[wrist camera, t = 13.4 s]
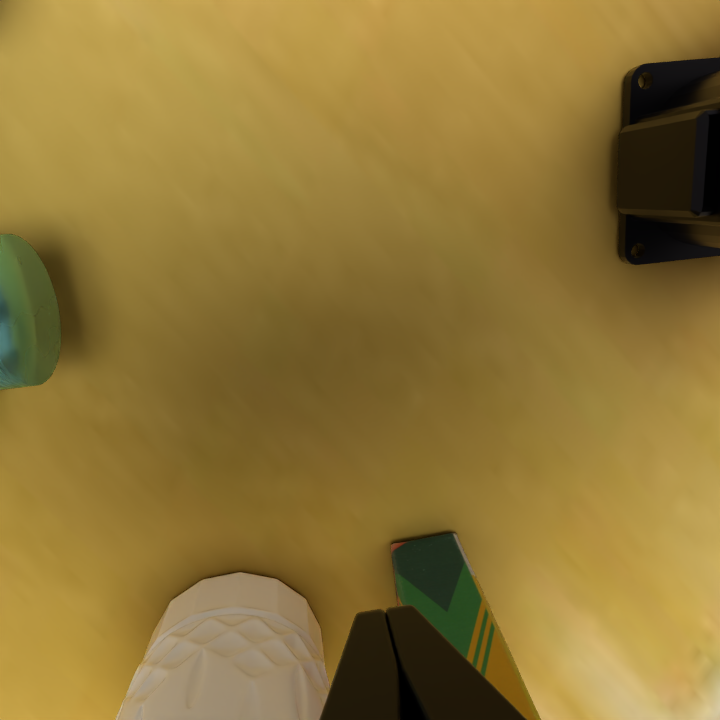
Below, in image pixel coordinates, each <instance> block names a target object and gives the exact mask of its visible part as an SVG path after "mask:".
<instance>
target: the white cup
mask: <svg viewBox="0 0 720 720" xmlns="http://www.w3.org/2000/svg"><path fill="white" fill-rule="evenodd" d="M329 690H330V685H329V681H328V677H327V673H326V669H325V662H324V653H323V644H322V635H321V628H320V626H319V624H318V622H317V620H316V618H315V616H314V614H313V612H312V610H311V608H310V606H309V604H308V602H307V600H306V599H305V598H304V597H302V596H301V595H300V594H298V593H297V592H295V591H294V590H292V589H291V588H289V587H288V586H286V585H285V584H284V583H282V582H281V581H279V580H278V579H274V578H269V577H264V576H258V575H253V574H248V573H242V572H238V573H233V574H228V575H223V576H218V577H213V578H208V579H203V580H201V581H199V582H198V583H196V584H195V585H193V586H192V587H191V588H189V589H188V590H186V591H185V592H183V593H182V594H180V595H179V596H177V597H176V598H174V599H173V600H171V602H170V603H169V605H168V607H167V609H166V610H165V612H164V614H163V616H162V617H161V619H160V621H159V623H158V624H157V626H156V628H155V630H154V632H153V634H152V637H151V639H150V642H149V645H148V647H147V650H146V653H145V655H144V658H143V661H142V662H141V664H140V665H139V666H138V668H137V670H136V672H135V674H134V676H133V679H132V681H131V684H130V686H129V689H128V691H127V694H126V696H125V699H124V700H123V703H122V705H121V707H120V710H119V712H118V714H117V716H116V719H115V720H319V719H320V716H321V713H322V710H323V707H324V704H325V702H326V699H327V696H328V693H329Z"/></svg>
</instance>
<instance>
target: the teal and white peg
mask: <svg viewBox="0 0 720 720" xmlns="http://www.w3.org/2000/svg"><path fill="white" fill-rule="evenodd" d="M60 345H61V323H60V314H59V308H58V303H57V298H56V295H55V291H54V288H53V285H52V282H51V279H50V277H49V274H48V272H47V270H46V268H45V266H44V264H43V262H42V261H41V259H40V257H39V256H38V254H37V253H36V252H35V250H34V249H33V248H32V247H31V246H30V245H29V244H28V243H27V242H26V241H25V240H23V239H22V238H20V237H18V236H16V235H13V234H3V235H0V390H3V389H11V388H19V387H28V386H36V385H40V384H43V383H44V382H46V381H47V380H48V379H49V378H50V377H51V375H52V374H53V372H54V370H55V368H56V365H57V362H58V358H59V353H60Z"/></svg>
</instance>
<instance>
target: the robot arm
mask: <svg viewBox="0 0 720 720" xmlns="http://www.w3.org/2000/svg"><path fill="white" fill-rule="evenodd" d="M640 75H643V76H644V77H645V80H646V84H645V87H644V88H643V89H642V88H641V87H640V86H639V84H638V79H639V76H640ZM617 208H618V209H619V211H620V223H619V257H620V258H621V260H622V261H624V262H625V263H628V264H634V265H641V264H650V263H658V262H667V261H676V260H685V259H694V258H702V257H711V256H720V57H719V58H707V59H695V60H683V61H671V62H659V63H648V64H643V65H640V66H638V67H635V68H633V69H632V70H631V71H629V72H628V74H627V76H626V78H625V82H624V103H623V130H622V131H621V132H620V134H619V144H618V176H617ZM635 244H637V245H638V248H639V249H638V253H637V254H636V255H635V256H632V253H631V250H632V247H633V246H634V245H635ZM319 720H527V719H526V718H525V717H524V716H523V715H522V714H521V713H520V712H519V711H518V710H517V709H516V708H515V707H514V706H513V705H512V704H511V703H510V702H509V701H508V700H507V699H506V698H505V697H504V696H503V695H502V694H501V693H500V692H499V691H498V690H497V689H496V688H495V687H494V686H493V685H492V684H491V683H490V682H489V681H488V680H487V679H486V678H485V677H484V676H483V675H482V674H481V673H480V672H479V671H478V670H477V669H476V668H475V667H474V666H473V665H472V664H471V663H470V662H469V661H468V660H467V659H466V658H465V657H464V656H463V655H462V654H461V653H460V652H459V651H458V650H457V649H456V648H455V647H454V646H453V645H452V644H451V643H450V642H449V641H448V640H447V639H446V638H445V637H444V636H443V635H442V634H441V633H440V632H439V631H438V630H437V629H436V628H435V627H434V626H433V625H432V624H431V623H430V622H429V621H428V620H427V619H426V618H425V617H424V615H423V614H422V613H421V612H420V611H419V610H418V609H417V608H416V607H414V606H413V605H402V606H396V607H390V608H388V609H387V610H386V612H384V611H383V610H381V609H378V610H371V611H365V612H360V613H358V614H357V615H356V616H355V618H354V621H353V624H352V627H351V630H350V633H349V636H348V638H347V641H346V644H345V647H344V650H343V653H342V656H341V659H340V661H339V664H338V667H337V670H336V673H335V676H334V679H333V681H332V684H331V687H330V690H329V693H328V696H327V699H326V702H325V704H324V707H323V710H322V713H321V716H320V719H319Z"/></svg>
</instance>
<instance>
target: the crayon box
mask: <svg viewBox="0 0 720 720" xmlns="http://www.w3.org/2000/svg"><path fill="white" fill-rule="evenodd" d="M391 554H392V562H393V570H394V577H395V586H396V595H397V602H398V606H402V605H413V606H414V607H416V608H417V609H418V610H419V611H420V612H421V613H422V614H423V615H424V617H425V618H426V619H427V620H428V621H429V622H430V623H431V624H432V625H433V626H434V627H435V628H436V629H437V630H438V631H439V632H440V633H441V634H442V635H443V636H444V637H445V638H446V639H447V640H448V641H449V642H450V643H451V644H452V645H453V646H454V647H455V648H456V649H457V650H458V651H459V652H460V653H461V654H462V655H463V656H464V657H465V658H466V659H467V660H468V661H469V662H470V663H471V664H472V665H473V666H474V667H475V668H476V669H477V670H478V671H479V672H480V673H481V674H482V675H483V676H484V677H485V678H486V679H487V680H488V681H489V682H490V683H491V684H492V685H493V686H494V687H495V688H496V689H497V690H498V691H499V692H500V693H501V694H502V695H503V696H504V697H505V698H506V699H507V700H508V701H509V702H510V703H511V704H512V705H513V706H514V707H515V708H516V709H517V710H518V711H519V712H520V713H521V714H522V715H523V716H524V717H525V718H526V719H527V720H541V719H540V717H539V714H538V712H537V710H536V708H535V706H534V704H533V701H532V699H531V697H530V695H529V693H528V690H527V688H526V686H525V684H524V682H523V679H522V677H521V675H520V673H519V670H518V668H517V666H516V664H515V661H514V659H513V657H512V655H511V652H510V650H509V648H508V646H507V644H506V642H505V640H504V637H503V635H502V633H501V631H500V629H499V627H498V625H497V623H496V620H495V618H494V616H493V614H492V611H491V608H490V606H489V604H488V602H487V600H486V598H485V596H484V594H483V591H482V589H481V587H480V585H479V583H478V581H477V578H476V576H475V574H474V572H473V570H472V568H471V566H470V564H469V561H468V559H467V557H466V554H465V552H464V550H463V548H462V546H461V543H460V541H459V539H458V536H457V534H456V533H449V534H444V535H439V536H432V537H428V538H423V539H417V540H413V541H407V542H402V543H393V544H392V545H391Z"/></svg>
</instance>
